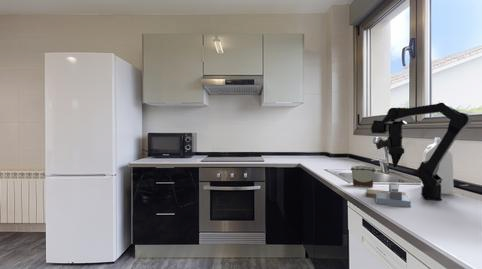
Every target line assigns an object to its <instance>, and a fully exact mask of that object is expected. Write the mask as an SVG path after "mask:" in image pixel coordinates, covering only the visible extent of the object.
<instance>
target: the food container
mask: <svg viewBox="0 0 482 269" xmlns="http://www.w3.org/2000/svg"><path fill="white" fill-rule="evenodd" d="M350 171H351V176H352V186H355V187H364V188H373V186H374V179H375V173H377V170H376V168H375V167H373V166H368V165H366V166H365V165H352V166H351V168H350Z"/></svg>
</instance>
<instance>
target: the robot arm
mask: <svg viewBox="0 0 482 269" xmlns="http://www.w3.org/2000/svg"><path fill="white" fill-rule="evenodd" d="M436 113H440V114H442V115H443V116H444V117H446V118H447V119H449V122H448V127H447V130H446V132H445V134H444V135H443V137H442V139H440V143H439V145H438V146H437V148H436V150H435V151H434V153H433V154H432V156H431V158H430V159H429V160H428V161H423V162H422V161H421V163H420V164H419V167H417V169H416V170H417V173H416V175H417V177H418V179H420V182H421V181H422V183H423V186H421V185H420V188H421V190H420V195H421V197H422V198H423V199H426V200H435V201H442V199H443V198H442V194H441V185H440V184H441V182H442V179H441V178H440V177H439V176H438V175H437V172H438V169H439V165H440V162H441V161H442V159H443V158H444V156H445V155H446V153H447V152H448V151H450V148H451V147H452V145H453V144H454V142H455V141H456V139H457V138H458V136H459V135H460V134H461V133H462V132H463V131H465V129H467V128H468V127H469V126H470V125H471V123H472V120H473V119H472V116H471V115H470V114H468V113H465V112H461V111H458V110H457V109H455V108H454V107H451V106H450V105H448V103H445V102H439V103H435V104H426V105H422V106H421V105H419V106H413V107H391V108H389V109H388V111H387V113H386V115H385V117H384V118H383V119H382V120H377V119H376V120H375V119H374V120H373V123H371V124H372V125H371V128H370V130H371V133H372V134H373V135H387V134H388V136H387V138H386V139H384V140H383V139H378V140H377V142H375V146H376V150H381V149H383V148H386V151H387V154H388V155H389V156H390V157H391V161H392V167H393V168H396V167H397V166H398V164H399V162H400V160H401V158H402V155H403V154H405V148H403V126H404V125H405V126H407V125H408V123H407V121H405V120H406V119H407V118H410V117H415V116H423V115H430V114H436ZM404 119H405V120H404Z"/></svg>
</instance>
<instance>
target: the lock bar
mask: <svg viewBox="0 0 482 269" xmlns="http://www.w3.org/2000/svg"><path fill="white" fill-rule="evenodd" d="M388 183H389V184H388V191H389V192H390V191H397V192H399V186H400V185H399V184H398V183H395V182H393V183H391V182H388Z"/></svg>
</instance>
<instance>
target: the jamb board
mask: <svg viewBox="0 0 482 269" xmlns="http://www.w3.org/2000/svg"><path fill="white" fill-rule="evenodd" d="M401 192H402V195H407V193H406V192H404V191H401ZM365 193H366V194H365V196H366V197H369V198H376V193H385V194H390V192H389V190H381V189H369V188H367V189H366V191H365Z"/></svg>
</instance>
